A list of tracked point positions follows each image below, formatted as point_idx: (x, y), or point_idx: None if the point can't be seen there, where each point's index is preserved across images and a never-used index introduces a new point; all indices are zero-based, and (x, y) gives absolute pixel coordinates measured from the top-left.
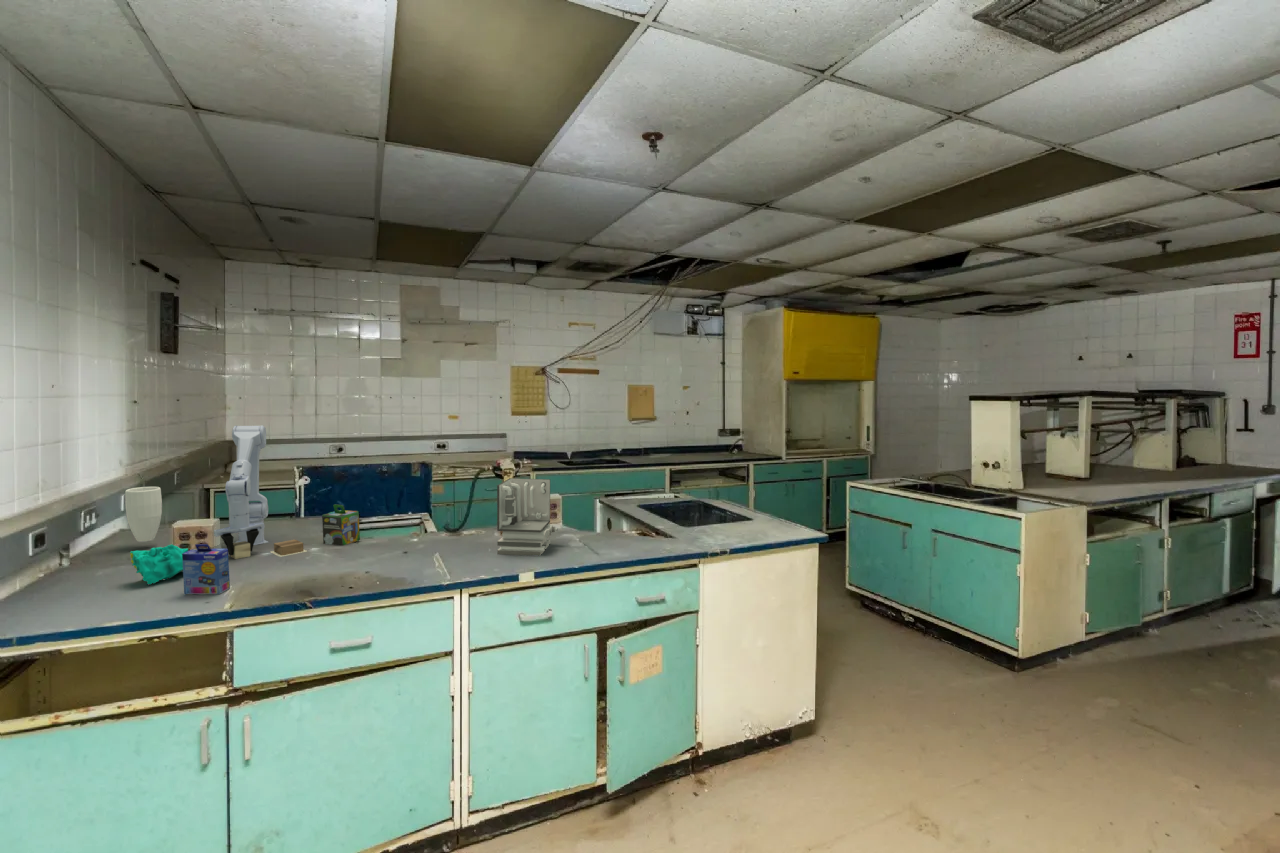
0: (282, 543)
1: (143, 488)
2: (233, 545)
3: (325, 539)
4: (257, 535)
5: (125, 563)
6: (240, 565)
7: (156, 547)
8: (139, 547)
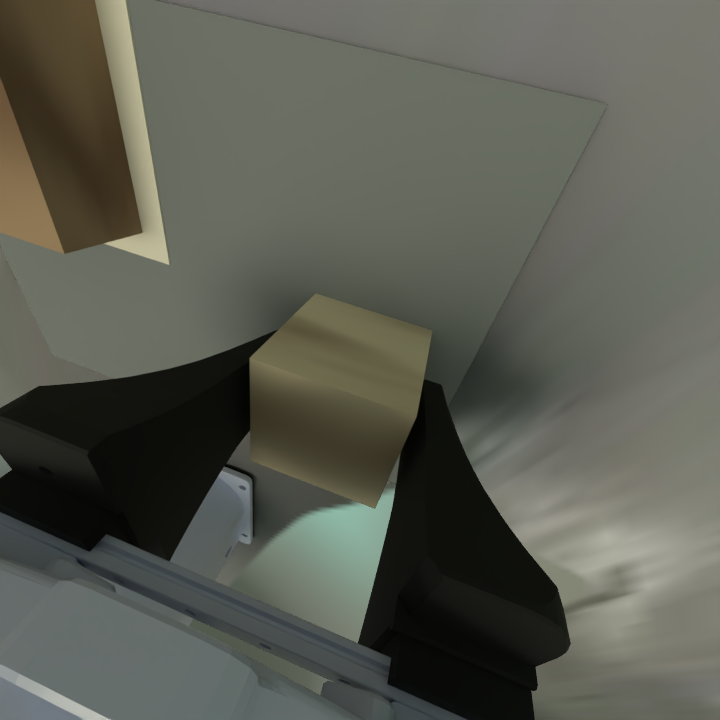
0: None
1: None
2: (400, 451)
3: None
4: (87, 382)
5: (662, 698)
6: (577, 65)
7: None
8: None
